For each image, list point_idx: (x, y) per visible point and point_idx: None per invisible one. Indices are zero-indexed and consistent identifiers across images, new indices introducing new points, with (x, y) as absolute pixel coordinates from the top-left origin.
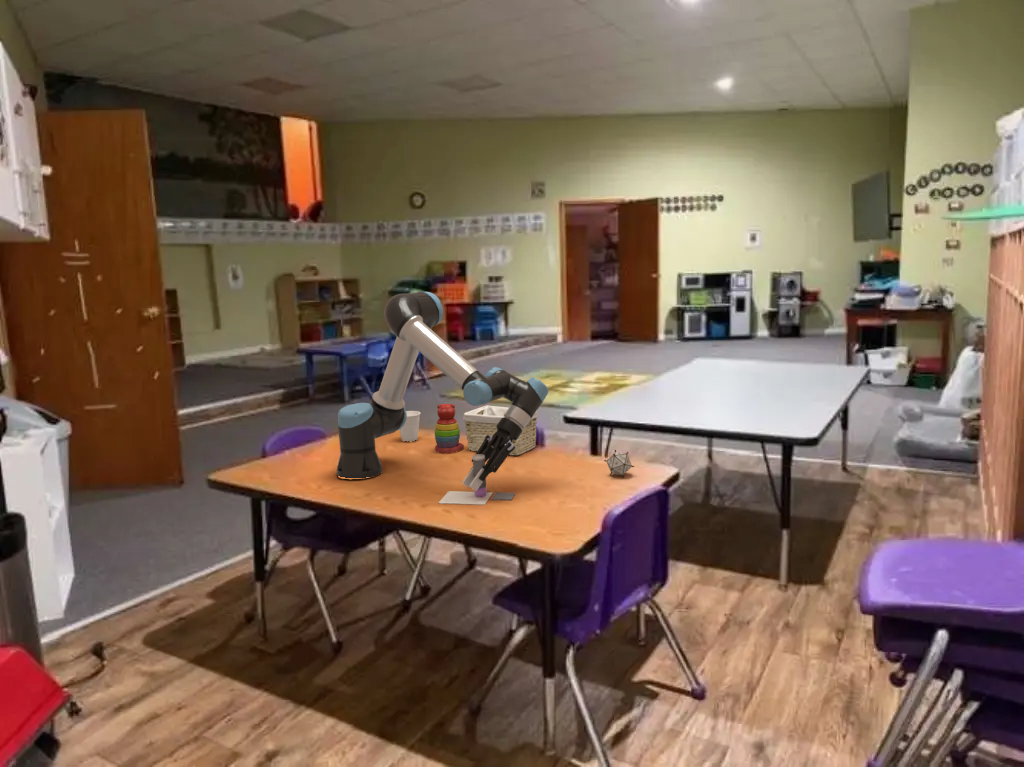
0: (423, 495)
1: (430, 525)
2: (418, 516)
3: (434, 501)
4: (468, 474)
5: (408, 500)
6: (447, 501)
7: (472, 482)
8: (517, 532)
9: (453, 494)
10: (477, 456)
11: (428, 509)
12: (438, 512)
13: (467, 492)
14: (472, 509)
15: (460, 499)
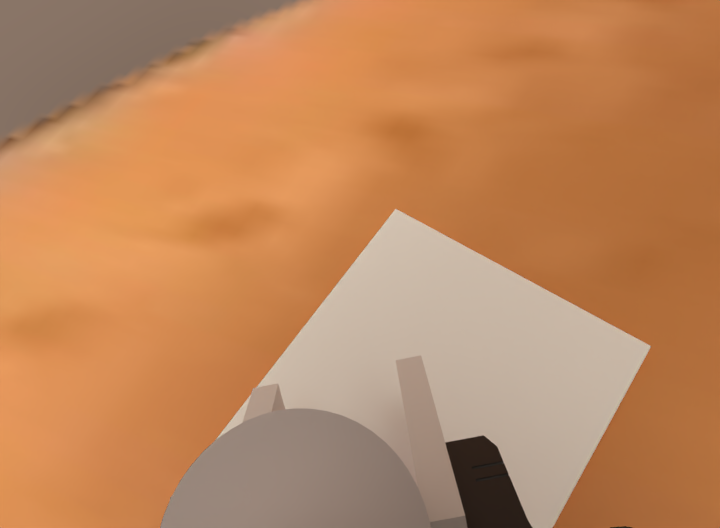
0: (628, 167)
1: (83, 104)
2: (244, 79)
3: (456, 201)
4: (419, 416)
5: (555, 76)
6: (393, 268)
7: (254, 410)
8: None
9: (539, 354)
10: (243, 497)
11: (322, 140)
12: (236, 176)
13: (544, 483)
14: (147, 376)
15: (386, 364)
